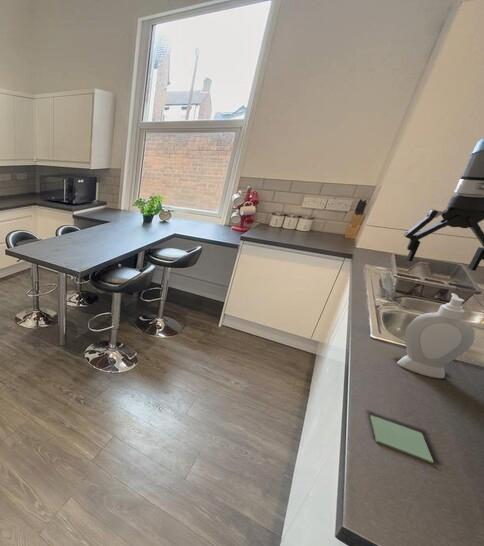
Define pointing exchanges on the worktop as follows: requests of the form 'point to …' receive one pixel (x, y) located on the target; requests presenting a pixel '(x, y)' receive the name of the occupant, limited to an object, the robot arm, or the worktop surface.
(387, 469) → the worktop surface
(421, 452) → the mat
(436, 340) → the soap bottle
